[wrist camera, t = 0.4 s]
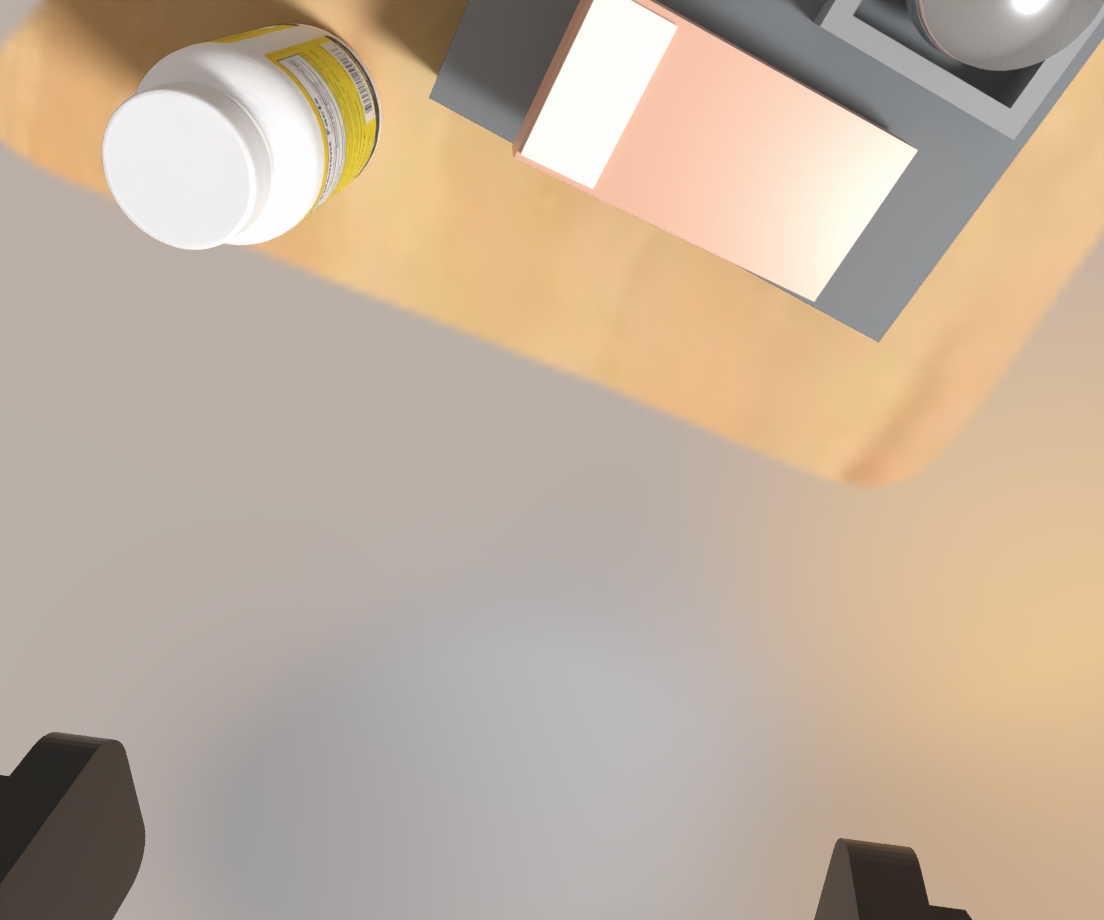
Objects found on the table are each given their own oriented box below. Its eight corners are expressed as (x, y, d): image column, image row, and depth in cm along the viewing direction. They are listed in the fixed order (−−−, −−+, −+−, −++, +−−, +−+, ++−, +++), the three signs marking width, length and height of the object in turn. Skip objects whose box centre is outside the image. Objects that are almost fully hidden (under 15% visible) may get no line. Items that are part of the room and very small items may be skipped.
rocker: (595, -34, 25) (601, -27, 24) (901, 138, 28) (919, 151, 27) (512, 145, 27) (513, 159, 26) (802, 285, 30) (815, 303, 29)
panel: (663, -424, 25) (660, -492, 21) (1161, -106, 27) (1244, -114, 23) (449, 84, 32) (417, 105, 28) (863, 311, 34) (887, 360, 30)
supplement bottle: (216, 156, 34) (58, 228, 25) (248, -5, 31) (83, 15, 23) (363, 215, 34) (256, 306, 26) (405, 61, 32) (303, 105, 23)
